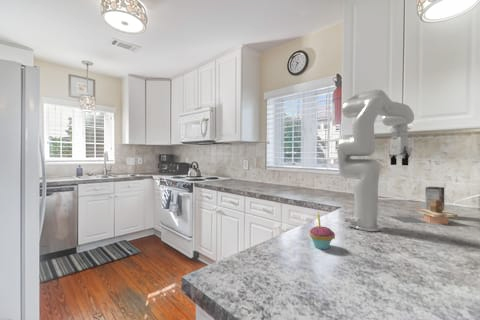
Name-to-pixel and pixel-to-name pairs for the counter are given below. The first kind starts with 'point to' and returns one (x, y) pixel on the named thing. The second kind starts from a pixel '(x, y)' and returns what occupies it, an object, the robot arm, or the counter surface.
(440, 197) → the coffee box
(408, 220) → the mat
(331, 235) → the cupcake
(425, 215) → the bowl
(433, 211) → the lid
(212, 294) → the counter surface
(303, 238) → the counter surface
